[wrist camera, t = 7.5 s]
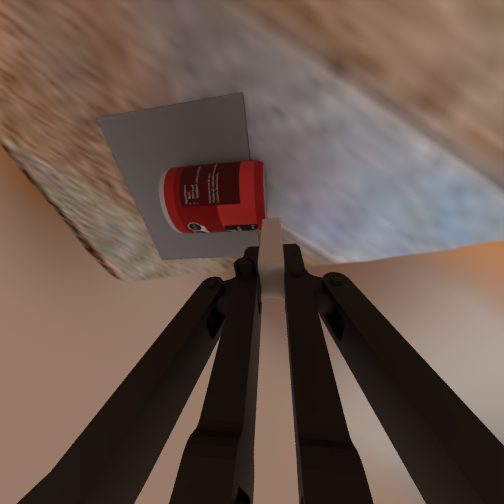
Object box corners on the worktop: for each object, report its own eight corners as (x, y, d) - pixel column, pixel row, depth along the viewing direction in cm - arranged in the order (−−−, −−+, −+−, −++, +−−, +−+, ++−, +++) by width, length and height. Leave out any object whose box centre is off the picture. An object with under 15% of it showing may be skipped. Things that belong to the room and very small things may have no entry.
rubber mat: (100, 118, 23) (96, 118, 22) (242, 93, 20) (242, 92, 20) (163, 257, 34) (161, 259, 33) (260, 253, 31) (260, 255, 31)
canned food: (267, 214, 27) (196, 218, 28) (264, 153, 22) (179, 162, 24) (266, 242, 21) (175, 246, 22) (261, 166, 16) (147, 177, 18)
